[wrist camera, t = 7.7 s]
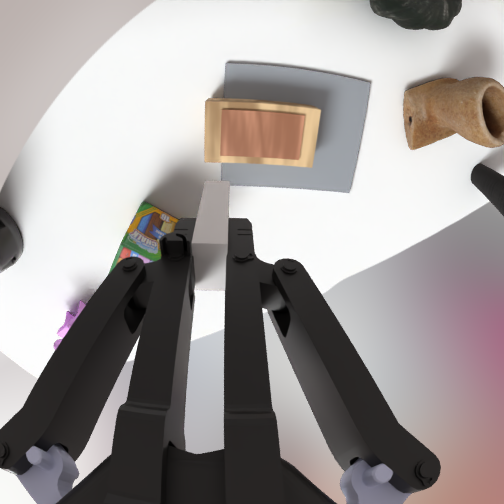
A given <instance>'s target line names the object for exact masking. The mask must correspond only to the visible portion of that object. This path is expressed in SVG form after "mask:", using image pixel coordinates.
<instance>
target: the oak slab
mask: <svg viewBox="0 0 504 504" xmlns="http://www.w3.org/2000/svg"><path fill="white" fill-rule="evenodd" d="M320 113H321V110H320V109H319V108H317V107H315V106H313V105H306V104H298V103H290V102H280V101H268V100H254V99H231V98H208V99H207V100H206V101H205V162H219V163H250V164H269V165H284V166H297V167H308V168H312V166H313V160H314V154H315V148H316V141H317V134H318V128H319V121H320Z"/></svg>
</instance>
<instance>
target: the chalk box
mask: <svg viewBox="0 0 504 504" xmlns="http://www.w3.org/2000/svg"><path fill="white" fill-rule="evenodd" d="M178 221H179V220H178V219H176V218H175V217H173V216H171V215H169V214H167V213H165V212H164V211H162V210H160V209H158V208H156V207H154V206H152V205H150V204H149V203H147V202H144V201H143V202H142V203H141V205H140V207H139V209H138V211H137V213H136V215H135V217H134V218H133V220H132V222H131V224H130V226H129V228H128V230H127V232H126V234H125V236H124V238H123V240H122V242H121V244H120V247H119V249H118V251H117V254H116V256H115V259H114V261H113V264H112V266H111V269H110V272H111V271H112V270H113V268H114V267H115V266H116V265H117V263H118V262H119V261H121V260H122V259H124V258H126V257H131V256H134V257H139V258H141V259H142V260H143V261H144V263H149V262H154V261H157V260H159V259H161V250H160V244H159V240H160V238H161V237H162V236H164V235H165V234H168V233H171V232H173V231H174V228H175V225H176V223H177V222H178ZM110 272H109V273H110ZM108 275H109V274H108Z"/></svg>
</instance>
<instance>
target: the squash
mask: <svg viewBox="0 0 504 504" xmlns="http://www.w3.org/2000/svg"><path fill="white" fill-rule="evenodd" d="M370 5H371V8H372V10H373V11H374V13H376V14H377V15H380V16H382V17H385V18H390V19H392V20H393V21H394V22H396V23H397V24H398V25H399V26H401V27H403V28H406V29H413V30H419V29H424V28H425V29H428V30H440V29H444V28H446V27H448V26H449V25H450V23H451V21H452V20H453V18H454V17H455V16H456V15H458V13H459V12H460V10H461V7H462V0H370Z"/></svg>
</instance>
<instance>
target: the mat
mask: <svg viewBox="0 0 504 504" xmlns="http://www.w3.org/2000/svg"><path fill="white" fill-rule="evenodd" d="M369 90H370V83H369V82H365V81H361V80H357V79H353V78H348V77H343V76H339V75H334V74H328V73H323V72H317V71H311V70H304V69H297V68H289V67H280V66H270V65H257V64H236V63H226V66H225V85H224V98H231V99H254V100H268V101H280V102H290V103H298V104H306V105H313V106H315V107H317V108H319V109H320V110H321V113H320V121H319V128H318V134H317V141H316V148H315V154H314V160H313V166H312V168H308V167H297V166H284V165H269V164H250V163H222V171H221V181H230V185H232V186H259V187H279V188H295V189H310V190H322V191H334V192H344V193H349V192H350V188H351V184H352V179H353V175H354V171H355V166H356V161H357V157H358V152H359V147H360V142H361V137H362V132H363V126H364V121H365V115H366V109H367V103H368V97H369Z"/></svg>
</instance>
